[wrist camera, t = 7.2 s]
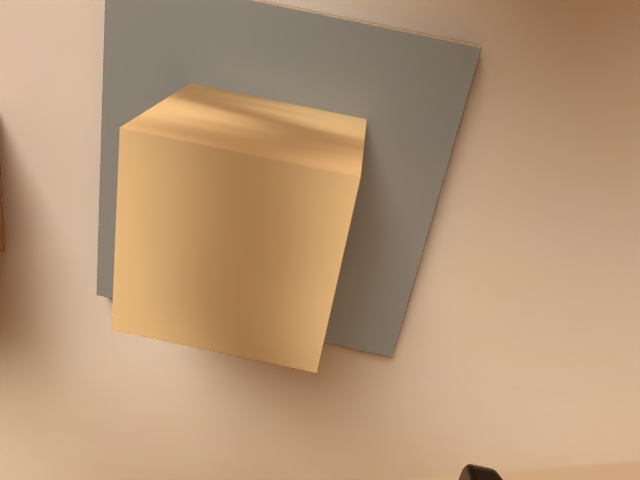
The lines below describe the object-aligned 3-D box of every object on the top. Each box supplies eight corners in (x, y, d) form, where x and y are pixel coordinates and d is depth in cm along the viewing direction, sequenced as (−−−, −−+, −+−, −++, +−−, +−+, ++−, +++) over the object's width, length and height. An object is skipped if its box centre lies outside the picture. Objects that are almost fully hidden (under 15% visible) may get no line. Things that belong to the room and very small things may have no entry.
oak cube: (176, 242, 19) (111, 329, 14) (190, 82, 17) (119, 127, 12) (332, 274, 19) (317, 372, 14) (366, 119, 17) (360, 177, 12)
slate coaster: (104, 286, 21) (96, 294, 20) (115, -30, 16) (106, -30, 16) (391, 346, 21) (392, 356, 20) (478, 44, 16) (481, 47, 16)
